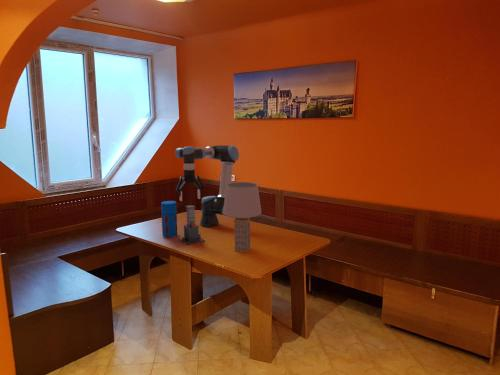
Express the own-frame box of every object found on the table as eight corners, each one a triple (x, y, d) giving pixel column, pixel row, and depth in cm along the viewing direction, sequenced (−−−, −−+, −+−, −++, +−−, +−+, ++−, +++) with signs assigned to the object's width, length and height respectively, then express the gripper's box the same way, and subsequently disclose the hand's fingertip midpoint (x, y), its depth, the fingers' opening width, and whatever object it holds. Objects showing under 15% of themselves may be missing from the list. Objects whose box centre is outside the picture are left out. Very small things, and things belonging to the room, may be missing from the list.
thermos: (174, 238, 282) (172, 204, 278) (160, 237, 284) (158, 203, 280) (179, 233, 293) (178, 201, 288) (166, 232, 295) (164, 200, 290)
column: (193, 236, 280) (192, 205, 276) (196, 238, 275) (195, 206, 271) (186, 237, 277) (185, 206, 273) (189, 239, 273) (188, 207, 268)
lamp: (264, 244, 267) (265, 182, 259) (257, 257, 243) (257, 188, 235) (229, 242, 272) (228, 180, 264) (218, 254, 248) (217, 187, 240)
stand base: (196, 236, 286) (195, 219, 284) (204, 241, 275) (204, 223, 272) (178, 239, 278) (177, 222, 276) (186, 245, 267) (185, 226, 265)
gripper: (203, 167, 277) (203, 196, 281) (169, 170, 264) (171, 200, 267) (208, 168, 271) (208, 198, 275) (174, 171, 257) (175, 202, 261)
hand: (190, 199), depth 271 cm, fingers open, 13 cm apart
